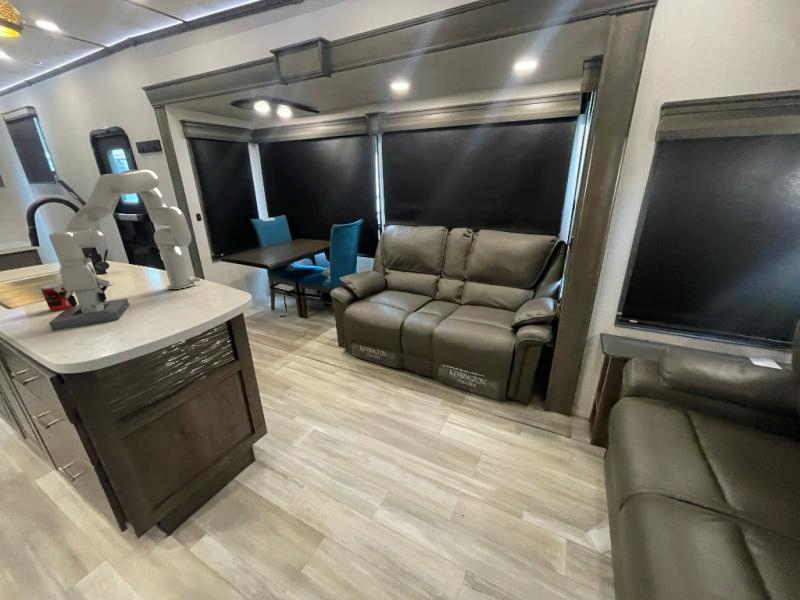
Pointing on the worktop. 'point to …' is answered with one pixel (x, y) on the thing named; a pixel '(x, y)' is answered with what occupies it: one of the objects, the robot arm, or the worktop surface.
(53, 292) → the canned food
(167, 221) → the robot arm
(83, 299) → the skincare box
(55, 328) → the jig
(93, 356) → the worktop surface
